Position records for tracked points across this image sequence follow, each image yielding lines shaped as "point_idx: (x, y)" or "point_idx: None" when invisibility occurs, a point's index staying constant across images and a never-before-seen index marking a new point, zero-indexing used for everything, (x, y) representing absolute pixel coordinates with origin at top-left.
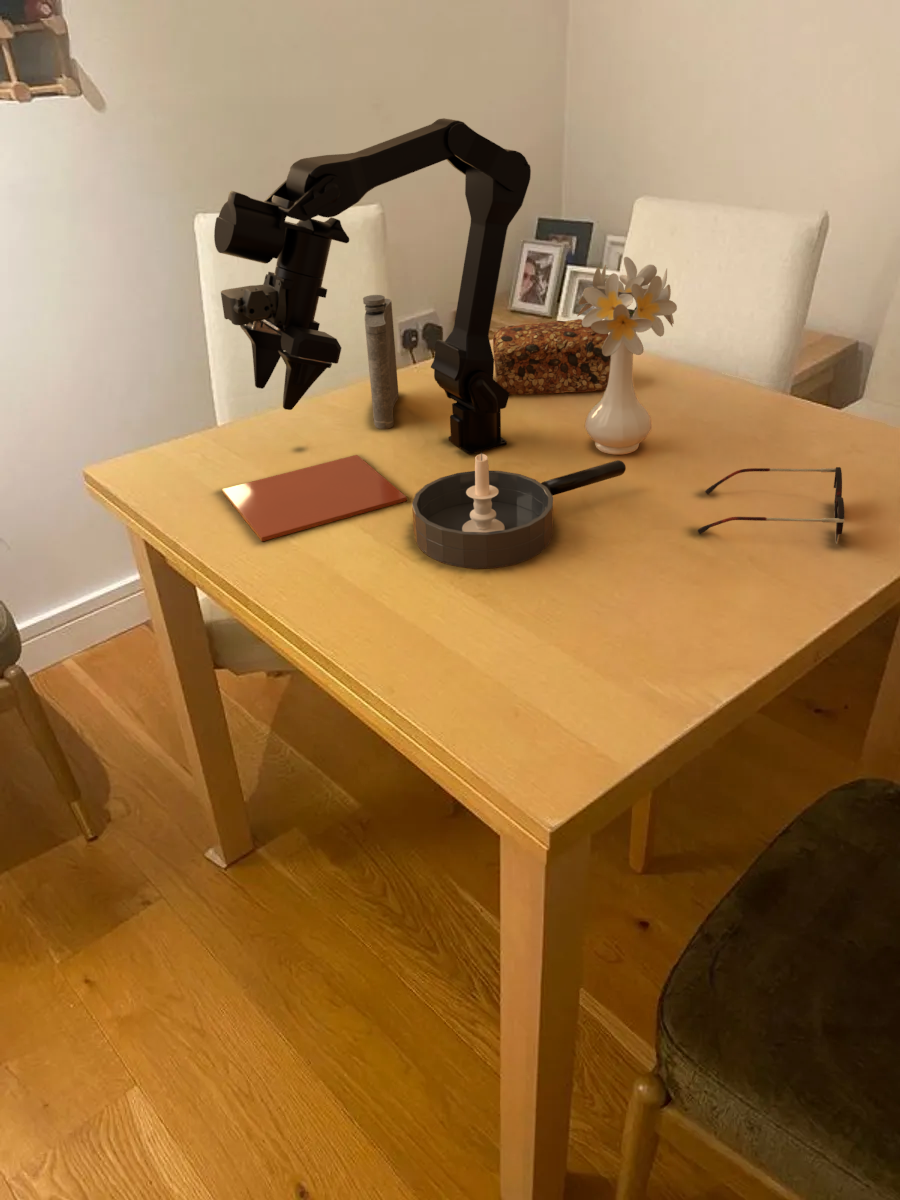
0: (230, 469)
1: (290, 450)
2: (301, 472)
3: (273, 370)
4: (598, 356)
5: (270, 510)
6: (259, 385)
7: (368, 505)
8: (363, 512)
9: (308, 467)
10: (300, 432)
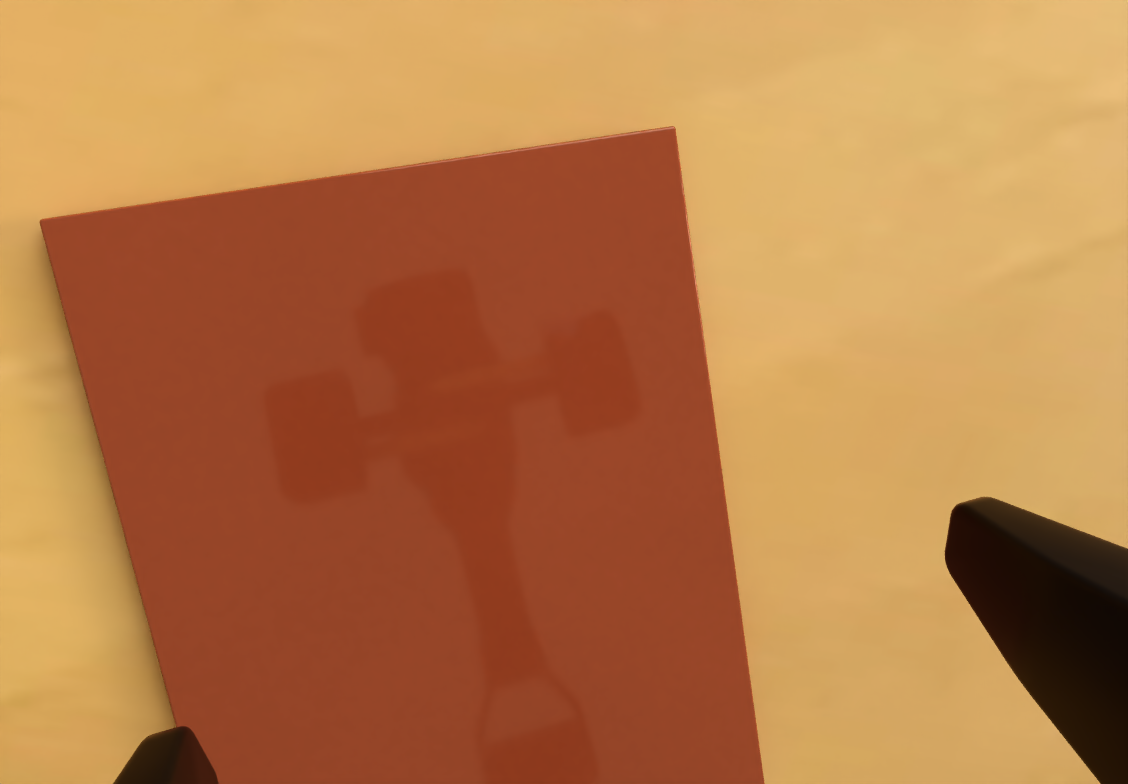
0: (902, 211)
1: None
2: (691, 523)
3: (1097, 776)
4: None
5: (337, 316)
6: (965, 542)
7: None
8: None
9: (729, 562)
10: None
